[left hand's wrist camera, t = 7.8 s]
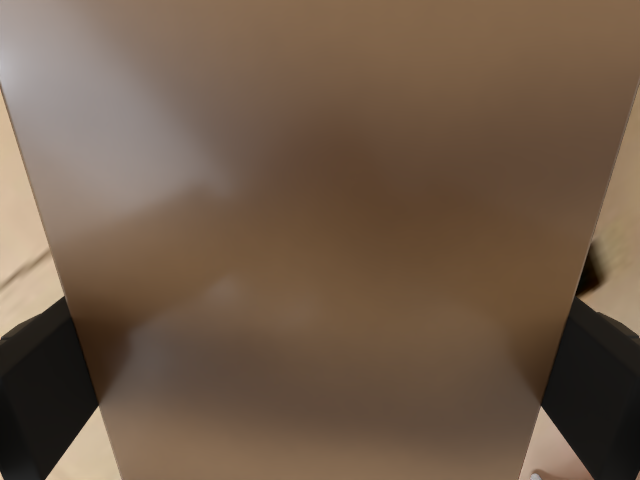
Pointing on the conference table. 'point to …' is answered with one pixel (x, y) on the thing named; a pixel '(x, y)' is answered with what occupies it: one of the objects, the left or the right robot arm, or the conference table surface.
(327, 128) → the cabinet
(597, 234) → the conference table surface
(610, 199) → the conference table surface
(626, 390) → the left robot arm
